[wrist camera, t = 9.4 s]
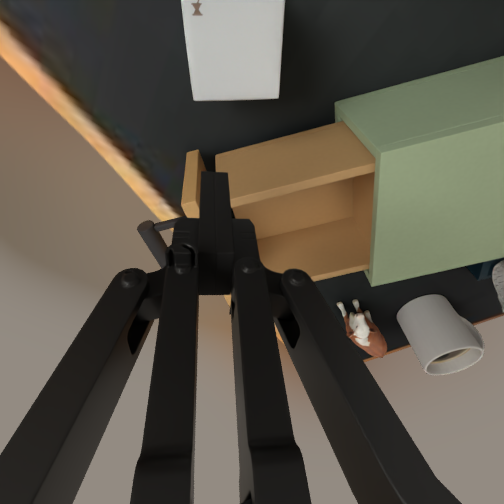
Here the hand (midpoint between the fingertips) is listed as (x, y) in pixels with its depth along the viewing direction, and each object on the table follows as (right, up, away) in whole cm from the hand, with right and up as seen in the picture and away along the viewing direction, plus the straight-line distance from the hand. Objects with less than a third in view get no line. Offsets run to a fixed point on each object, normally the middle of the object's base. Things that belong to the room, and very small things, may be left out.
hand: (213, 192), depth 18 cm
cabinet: (+20, +8, +15) cm, 26 cm away
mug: (+33, -14, +37) cm, 52 cm away
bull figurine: (+19, -13, +34) cm, 42 cm away
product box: (0, +14, +7) cm, 16 cm away
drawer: (+3, +3, +16) cm, 16 cm away
